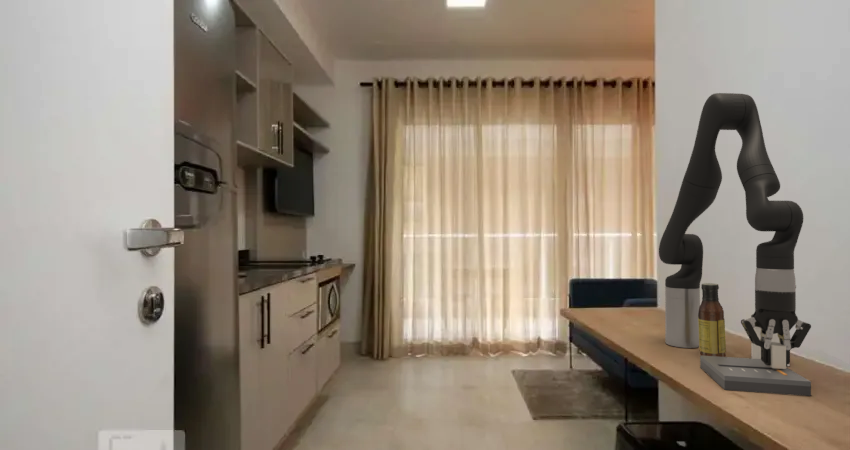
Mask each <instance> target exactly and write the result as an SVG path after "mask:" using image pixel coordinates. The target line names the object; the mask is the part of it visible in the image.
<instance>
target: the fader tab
mask: <svg viewBox="0 0 850 450" xmlns="http://www.w3.org/2000/svg"><path fill="white" fill-rule="evenodd" d="M770 349H771V365H770V367H772V368H773V370H778V369H786V346H784V345H782V344H780V343H778V342H771V344H770Z"/></svg>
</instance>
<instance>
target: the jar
mask: <svg viewBox="0 0 850 450" xmlns="http://www.w3.org/2000/svg"><path fill="white" fill-rule="evenodd" d="M751 317H753V314H751V315H750V318H751ZM753 329H754V330H755V332H756V334H757V336H758V338H759V340H760V339H761V336H760V332H761V328H760V327H759V325H758V324H757V323H756V322H755V327H754V328H753ZM750 342H751V341H750ZM771 342H778V343H780V342H779V337H778V335H777V333H776V334H773V338H772V339H771ZM750 344H751V345H750V347H751V349H750V350H751V353H750V354H751V356H750V358H751V359H761V347H760V346H757V345H755V344H753V343H752V342H751V343H750ZM790 363H791V362H790ZM790 363H789V364H787V368H789V367H790Z"/></svg>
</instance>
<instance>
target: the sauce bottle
mask: <svg viewBox="0 0 850 450" xmlns="http://www.w3.org/2000/svg"><path fill="white" fill-rule="evenodd" d="M700 289H701V291H702V292H701V294H702V298H701V301H700V307H699V313H698V323H699V347H698V349H699V351H700V355H701V356H718V357H727V356H726V353H727V344H726V341H727V340H726V325H725V323H726V321H725V317H724V316H725V311H724V308H723V306H722V304H721V303H720V301H719V300H720V299H719V289H720V287H719V284H718V283H711V282H708V283H707V282H704V283H701V285H700Z"/></svg>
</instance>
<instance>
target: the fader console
mask: <svg viewBox="0 0 850 450" xmlns="http://www.w3.org/2000/svg"><path fill="white" fill-rule="evenodd" d="M699 364H700V365H699V366H700V367H699V368H700V369H702V371H703V372H704V373H706V374H707V376H709V377H710V379H712V380H713V381H714V382H716V384H717V385H719V386H720V387H721V388H722V389H723V390H725V391H737V392H747V393H748V392H749V393H750V392H751V393H763V394H764V393H765V394H776V395H777V394H779V395H791V396H803V397H804V396H805V397H811V396H812V381H811V380H809V379H807V378H806V377H804V376H802V375H801V374H799V373H797V372H795V371H794V370H792V369H790V368H789V367H786V369H778V370H773V368H772V367H770V366H768V365H765V364H764V362H763V361H762V360H761V359H752V358H751V357H750V358H748V357H733V356H732V357H731V356H726V357H718V356H701V354H700V356H699Z"/></svg>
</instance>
